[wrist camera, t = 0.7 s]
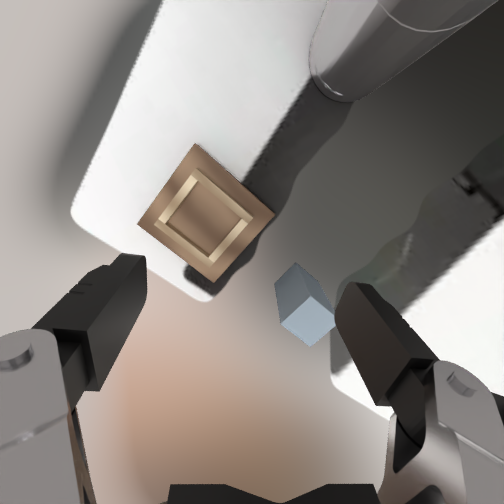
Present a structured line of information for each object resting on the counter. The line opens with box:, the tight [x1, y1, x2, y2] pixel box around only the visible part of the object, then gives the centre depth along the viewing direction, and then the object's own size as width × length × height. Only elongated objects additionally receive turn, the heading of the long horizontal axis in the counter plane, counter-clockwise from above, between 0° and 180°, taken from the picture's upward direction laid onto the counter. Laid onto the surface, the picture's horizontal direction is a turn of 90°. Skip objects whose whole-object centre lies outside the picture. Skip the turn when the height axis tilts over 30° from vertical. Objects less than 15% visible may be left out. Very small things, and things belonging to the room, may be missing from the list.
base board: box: [137, 144, 275, 283], centre depth 31 cm, size 13×13×3 cm
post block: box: [275, 263, 336, 347], centre depth 30 cm, size 5×5×10 cm
